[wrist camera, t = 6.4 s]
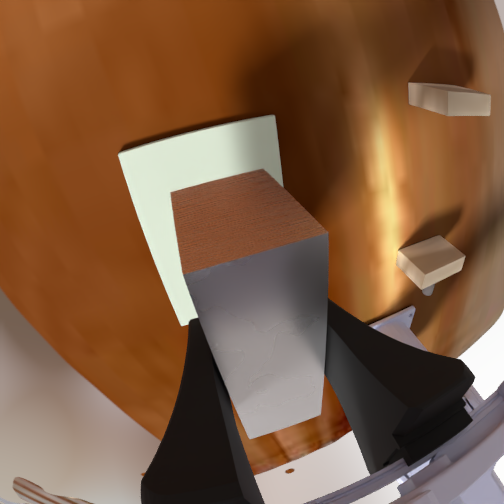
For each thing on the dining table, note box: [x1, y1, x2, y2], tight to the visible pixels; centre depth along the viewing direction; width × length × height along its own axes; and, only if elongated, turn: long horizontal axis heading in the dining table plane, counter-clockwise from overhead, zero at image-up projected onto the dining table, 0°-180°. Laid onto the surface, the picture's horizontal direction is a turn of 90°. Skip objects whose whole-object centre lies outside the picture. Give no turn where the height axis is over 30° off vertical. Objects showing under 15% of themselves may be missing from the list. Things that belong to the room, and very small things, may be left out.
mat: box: [118, 115, 283, 326], centre depth 18 cm, size 12×8×1 cm, turn 7°
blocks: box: [396, 82, 491, 296], centre depth 20 cm, size 17×5×4 cm, turn 7°
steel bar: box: [170, 169, 328, 439], centre depth 12 cm, size 10×4×5 cm, turn 8°
